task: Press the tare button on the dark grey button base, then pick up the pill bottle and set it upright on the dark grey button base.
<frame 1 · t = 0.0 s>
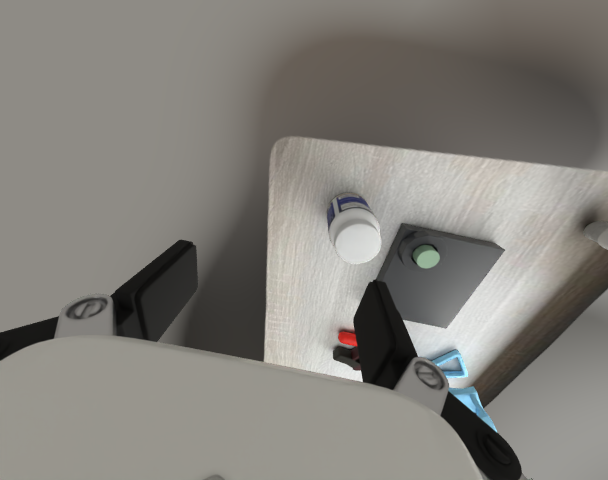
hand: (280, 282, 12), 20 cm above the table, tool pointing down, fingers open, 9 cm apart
lightbulb: (587, 226, 29), on the table
chair: (439, 364, 45), on the table
pill bottle: (347, 210, 31), on the table
tare button: (425, 256, 29), point 4 cm above the table, slide at 0.1 cm
dark grey button base: (423, 276, 35), on the table
toy gun: (359, 338, 43), on the table
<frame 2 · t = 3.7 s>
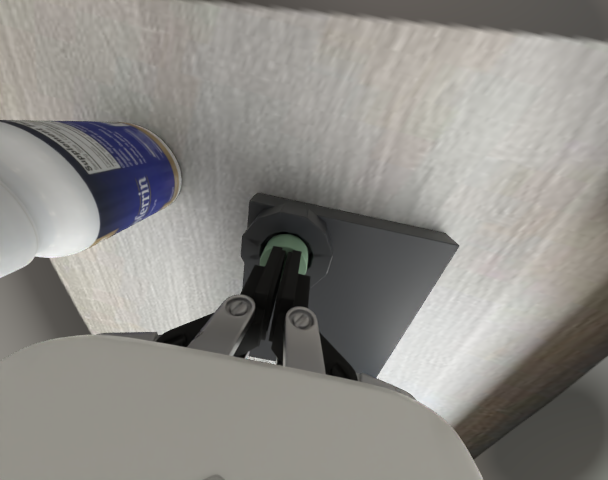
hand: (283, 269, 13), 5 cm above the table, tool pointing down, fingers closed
pill bottle: (146, 167, 15), on the table
tare button: (285, 259, 13), point 4 cm above the table, slide at 0.1 cm, touching gripper
dark grey button base: (325, 294, 19), on the table
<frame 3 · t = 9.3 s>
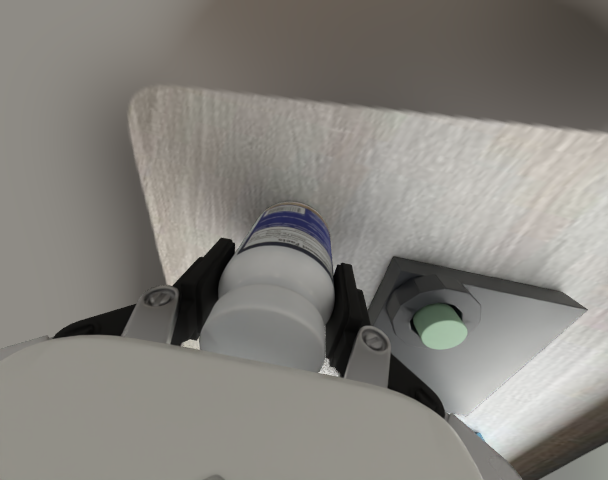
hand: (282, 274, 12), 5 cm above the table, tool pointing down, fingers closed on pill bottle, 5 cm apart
pill bottle: (293, 233, 17), on the table, touching gripper
tare button: (438, 326, 15), point 4 cm above the table, slide at 0.1 cm
dark grey button base: (431, 339, 21), on the table
when the fingers open (7 cm above the table, at t = 16.5 s): pill bottle stays where it is, resting on dark grey button base.
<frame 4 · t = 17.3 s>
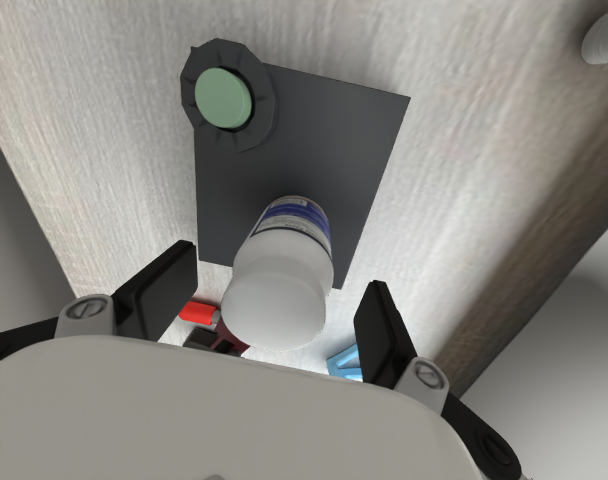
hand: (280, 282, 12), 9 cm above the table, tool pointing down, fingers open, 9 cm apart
lightbulb: (589, 43, 13), on the table
chair: (359, 357, 29), on the table
pill bottle: (295, 225, 18), point 2 cm above the table, touching dark grey button base
tare button: (224, 100, 13), point 4 cm above the table, slide at 0.1 cm
dark grey button base: (286, 189, 19), on the table
toy gun: (225, 314, 27), on the table
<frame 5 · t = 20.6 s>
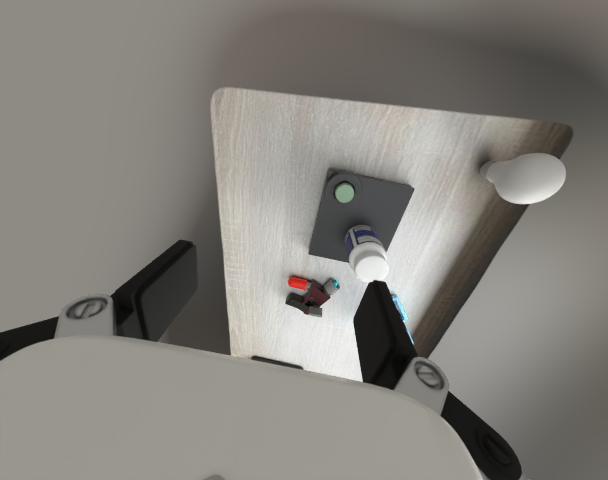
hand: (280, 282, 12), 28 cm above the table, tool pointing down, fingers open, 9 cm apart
lightbulb: (484, 168, 34), on the table
phone: (276, 368, 62), on the table
pill bottle: (360, 237, 39), point 2 cm above the table, touching dark grey button base
tare button: (344, 192, 34), point 4 cm above the table, slide at 0.1 cm
dark grey button base: (355, 220, 40), on the table
toy gun: (309, 285, 48), on the table
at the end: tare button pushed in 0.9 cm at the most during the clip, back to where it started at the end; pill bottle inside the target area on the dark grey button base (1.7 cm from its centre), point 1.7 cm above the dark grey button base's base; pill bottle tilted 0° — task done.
